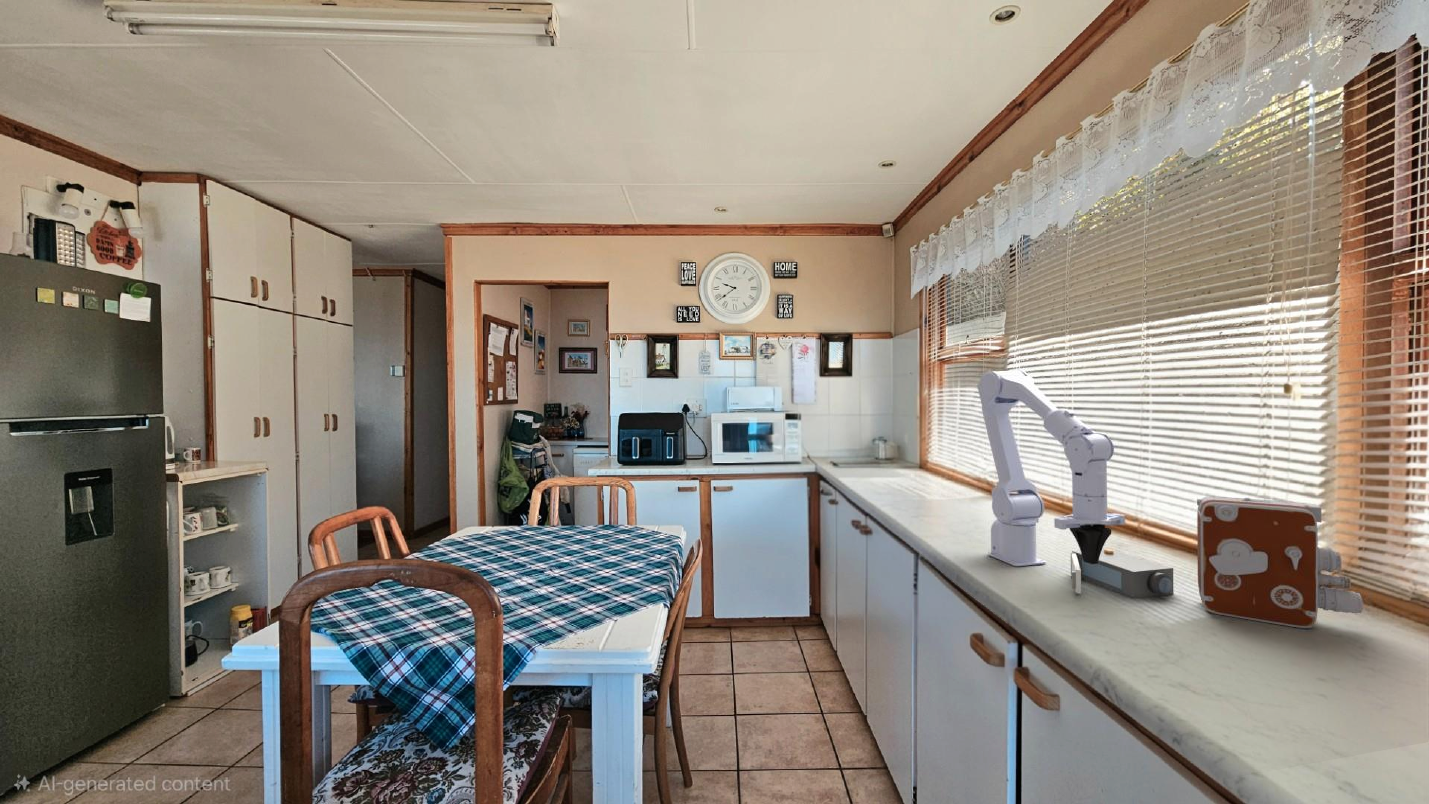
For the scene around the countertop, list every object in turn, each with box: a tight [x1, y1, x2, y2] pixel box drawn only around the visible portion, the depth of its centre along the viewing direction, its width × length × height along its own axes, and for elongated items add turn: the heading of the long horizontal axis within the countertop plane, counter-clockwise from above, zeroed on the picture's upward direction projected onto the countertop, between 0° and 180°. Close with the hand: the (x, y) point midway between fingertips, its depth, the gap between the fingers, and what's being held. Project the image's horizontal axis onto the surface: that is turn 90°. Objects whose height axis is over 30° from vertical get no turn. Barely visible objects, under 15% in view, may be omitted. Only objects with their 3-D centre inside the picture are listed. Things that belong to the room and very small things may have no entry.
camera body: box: [1071, 547, 1174, 599], centre depth 110 cm, size 16×9×6 cm, turn 11°
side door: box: [1070, 552, 1082, 595], centre depth 111 cm, size 12×1×5 cm, turn 151°
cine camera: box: [1196, 496, 1364, 629], centre depth 93 cm, size 9×19×20 cm, turn 53°
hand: (1090, 562), depth 110 cm, fingers closed
